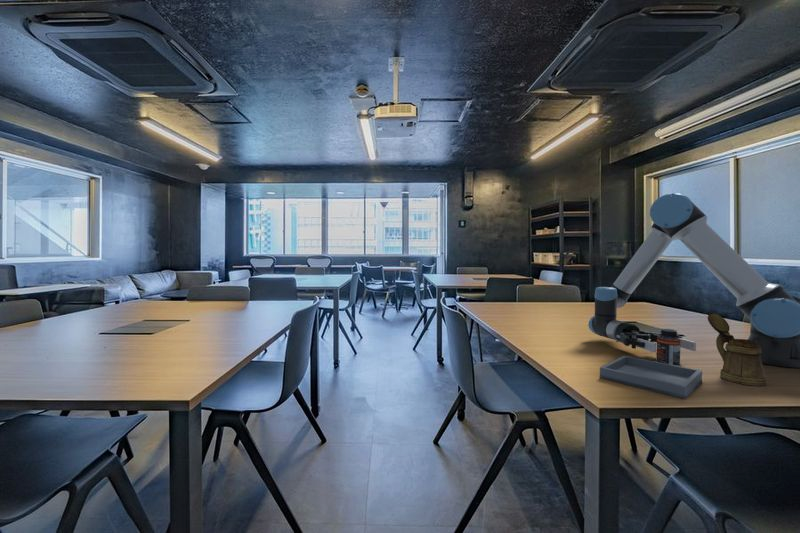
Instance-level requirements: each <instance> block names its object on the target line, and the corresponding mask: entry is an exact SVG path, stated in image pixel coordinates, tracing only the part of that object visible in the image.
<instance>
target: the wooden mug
mask: <svg viewBox="0 0 800 533" xmlns="http://www.w3.org/2000/svg"><path fill="white" fill-rule="evenodd" d="M707 321H708V323H709V325H710V326H711V328H712V329H714V331H715V332H717V333H718V336H717V337H716V341H715V345H716V349H717V350H718V353H719V355H720V357H721V359H722V361H723V365H722V368H721V369H720V371H719V372H720V375H719V376H720V377H721V379H724V380H725V381H729V382H730V383H731V382H732V383H735V384H741V385H745V386H751V385H752V386H754V387H762V386H766V385H767V381H766V377H765V375H764V368H763V363H762V361H761V353H762V351H761V348H760V347H759V342H758V341H754V340H748V339H747V338H746V339H745V338H744V339H743V338H735V337H734V335H732V334H730V325H729V323H728V322H727V320H726V319H725V317H723V316H721V315H720V314H719V313H717V312H714V311H712V310H710V311H709V313H708V316H707ZM724 346H725V347H724Z"/></svg>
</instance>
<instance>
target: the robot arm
mask: <svg viewBox="0 0 800 533" xmlns="http://www.w3.org/2000/svg"><path fill="white" fill-rule="evenodd" d="M649 217H650V218H651V219H650V220H651V221H652V223H653V224H652V225H651V226H650V229H651V232H650V233H649V234H648V235H647V237H646V238H645V239H644V241H643V243H642V244H641V245H640V246H639V247H638V249H637V250H636V252H635V254H634V255H633V256H632V258H630V260H629V261H628V263H627V264H626V266H625V267H624V269H623V270H622V271H621V273H620V274H619V275H618V277H617V278H616V280H615V281H614V282H613V283H612V285H611V286H609V287H608V286H598V287H597V286H596V287H595V290H594V291H595V292H594V315H593V316H592V317H590V319H589V320H588V329H589V330H590V331H591V332H592V333H594V334H595V335H598V336H600V337H603V338H606V339H607V338H608V339H610V340H613V341H615V342H616V343H619V342H620V343H622V344H623V345H624V346H626V347H630V345H631V349H637V348H639V349H642V350H646V351H649V352H652V353H657V337H658V336H659V335H661V332H660V333H659V332H654V331H645V330H640V328H639V327H638V326H637V325H636V324H634V323H630V322H626V321H622V320H618V319H617V316H618V315H617V312H618V309H619V308H622V307H624V306H625V305H626V304H627V303H628V299H629V298H630V296H631V295H632V294H633V293H634V291H635V290H636V289H637V287H638V286H639V284H641V283H642V281H643V279H644V278H645V277H646V276H647V274H648V273H649V272H650V271H651V269H652V268H653V266H654V265H655V264H656V262H657V261H658V260H659V259H660V257H661V256H662V255H663V254H664V253H665V251H666V250H667V248H669V246H670V244H671V243H672V241H676V240H678V241H681V243H682V244H683V245H684V246H685V247H686V248H687V249H688V250H689V251H690V252H691V253H692V254H693V255H694V256H695V257H696V258H697V259H698V261H700V262H701V263H702V264H703V266H705V267H706V268H707V270H709V271H710V272H711V274H713V276H714V277H715V278H717V279H718V281H720V283H721V284H722V285H723V286H724V287H725V288H727V290H728V291H729V292H730V293H731V294H733V296H734V297H735V298H736V303H735V305H736V307H737V308H738V309H739V310H740V311H741V312H742V313H743V314H744V316H746V317H747V318H748V320H750V323H749V324H750V326H749V327H750V330H749V337H748V339H747V340H754V341H758V342H759V347H760V348H761V351H762V353H761V361H762V365H770V366H777V367H783V368H792V369H793V368H794V369H800V292H798V291H790V290H789V291H787V290H786V289H784V288H783V287H782V286H781V285H780V284H778V283H770V282H768V281H767V280H766V279H765V278H764V277H763V276H762V275H761V274H759V272H758V271H757V270H756V269H754V268H753V266H751V264H749V263H748V262H747V261H746V260H745V259H744V258H743V257H742V256H741V255H740V254H739V253H738V252H737V251H736V250H735V249H734V248H733V247H732V246H731V245H730V244H728V242H727V241H725V239H723V238H722V237H721V236H720V235H719V234H718V233H717V232H716V231H715V230H714V229H713V228H712V227H711V226H710V225H709V224H707V220H708V216H707V215H706V214H705V213H704V212H703V211H702V210H701V209H700V208H699V207H698V206H697V205H696V204H695V203H694V202H693V201H692V200H691V199H690V198H689V197H688V196H687V195H685V194H682V193H678V192H675V193H673V192H672V193H666V194H663V195H661V196H660V197H658V198H657V199H655V200H654V201H653V203H652V204H651V206H650V210H649ZM677 337H678V338H679V339H680V340H681V344H680V345H681V347H680V349H685V350H688V351H692V352H696V351H697V342H696V341H692V340H690V339H686V338H683V337H682V336H681V335H680V334H677Z"/></svg>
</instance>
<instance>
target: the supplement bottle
mask: <svg viewBox="0 0 800 533" xmlns="http://www.w3.org/2000/svg"><path fill="white" fill-rule="evenodd" d="M660 333H661V335H659V336H658V337H657V342H656V356H655V357H656V358H655V359H656V361H655V362H661V363H666V364H671V365H676V366H681V345H680V344H681V340H680V339H679V338H678V337H677V335H678V331H677V330H676V329H671V328H661V329H660Z"/></svg>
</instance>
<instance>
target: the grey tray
mask: <svg viewBox="0 0 800 533" xmlns="http://www.w3.org/2000/svg"><path fill="white" fill-rule="evenodd" d="M599 379H601V380H606V381H610V382H615V383H619V384H623V385H626V386H631V387H634V388H638V389H642V390H646V391H650V392H655V393H659V394H662V395H667V396H671V397H674V398H679V399H683V400H686V399H687V398H688V397H689V396H690V394H692V393H693V391H694V390H695V389H697V387H699V385H700V384H701V383H702V382H703V369H702V370H701V369H697V368H691V367H685V366H681V365H680V366H676V365H671V364H666V363H661V362H656V361H654V360H650V359H644V358H641V357H640V358H638V357H634V356H630V355H622V356H621V357H619V358H617V359H614V360H612V361H610V362H608V363H607V364H604V365H602V366H600V367H599Z"/></svg>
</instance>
